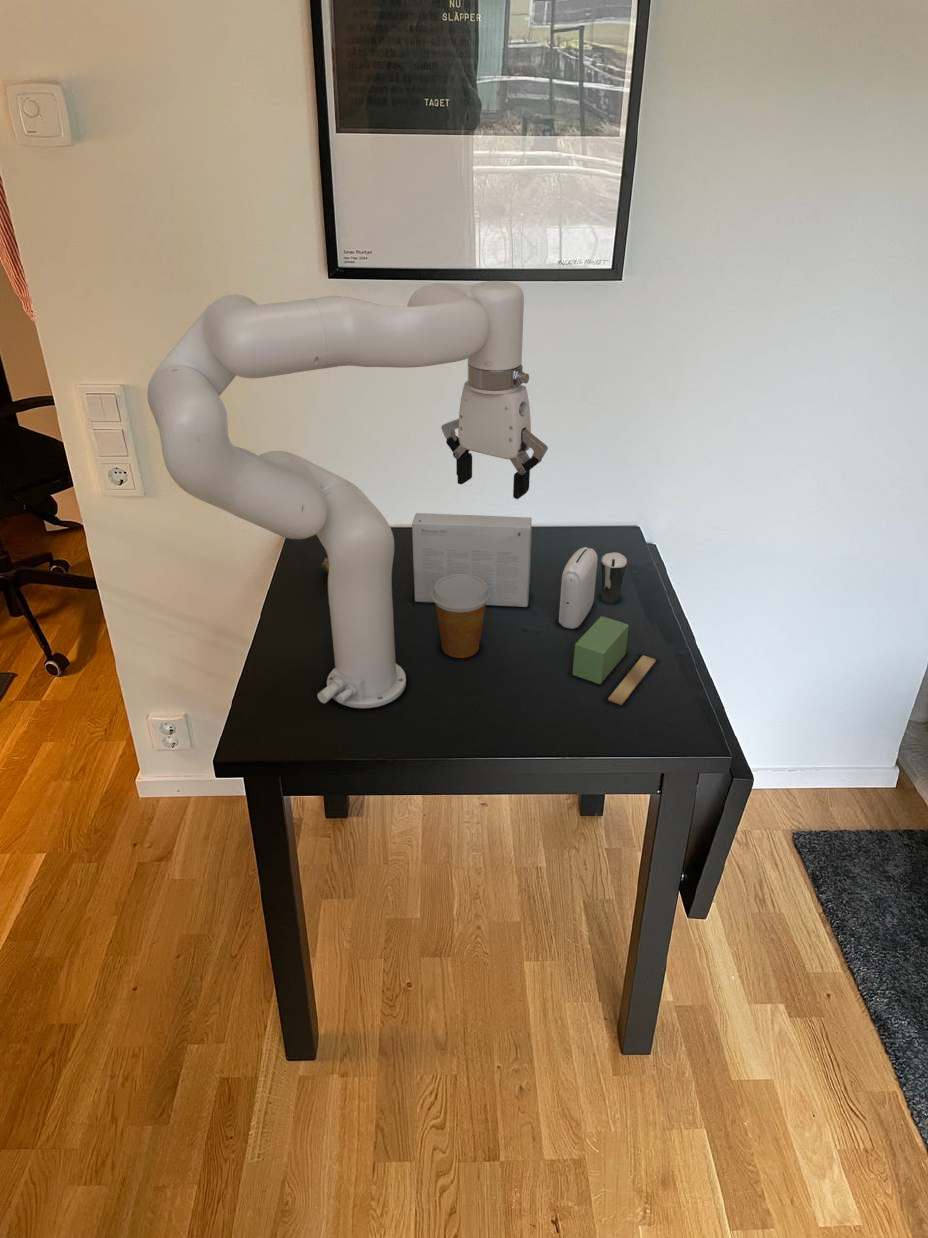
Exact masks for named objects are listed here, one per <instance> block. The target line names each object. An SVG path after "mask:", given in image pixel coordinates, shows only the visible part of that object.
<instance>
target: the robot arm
mask: <svg viewBox="0 0 928 1238" xmlns="http://www.w3.org/2000/svg"><path fill="white" fill-rule="evenodd" d="M524 295H525V294H524V291H523V290H522V288H521V287H520V286H519V285H518V284H516V283H513V282H510V281H504V280H491V281H490V280H488V281H481V282H478V283H476V284H456V283H444V282H443V283H442V282H436V283H435V282H434V283H429V284H426V285H422V286H421V287H419V288H418V289H416V290H415V291H414V292H413V293H412V295H411V296H410V297H409V300H407V301H408V302H407V305H406V306H397V305H395V306H394V305H384V304H378V303H373V302H370V301H367V300H362V299H360V298H359V299H358V298H355V297H350V296H349V297H348V296H344V295H343V296H341V295H329V296H322V297H314V298H307V299H298V300H290V301H282V302H280V301H279V302H272V303H271V302H270V303H263V304H258V303H256V301H255V300H253V299H251V298H250V297H248V296H245V295H242V294H237V293H236V294H234V293H233V294H226V295H223V296H220V297H219V298H217V299H215V301H213V302H212V303H211V304H209V305H207V307H206V308H205V309H204V311H202V313H200V315H199V316H198V317H197V319H196V320H195V321H193V323H192V325H191V326H190V327H189V328H188V330H187V331H186V332H185V333H184V334H183V336H182V337H181V338H180V340H178V342H177V343H176V344H175V346H174V347H173V348H172V349H171V350H170V351H169V353H168V354H167V355H166V356H165V358H164V359H163V360H162V361H161V362H160V363H159V365H158V366H157V368H156V369H155V370H154V371H153V373H152V375H151V377H150V380H149V382H148V386H147V403H148V405H149V409H150V412H151V414H152V416H153V419H154V421H155V424H156V426H157V428H158V433H159V437H160V444H161V445H160V446H161V451H162V457H163V461H164V465H165V468H166V470H167V472H168V474H169V476H170V477H171V479H172V480H173V482H175V484H176V485H177V486H178V487H179V488H180V489H181V490H183V491H184V492H185V493H186V494H188V495H190V496H192V497H194V498H196V499H198V500H199V501H202V502H204V503H207V504H208V505H210V506H214V507H216V508H218V509H220V510H223V511H225V512H227V513H229V514H231V515H233V516H235V517H237V518H240V519H241V520H244V521H246V522H249V523H251V524H253V525H256V526H257V527H260V528H262V529H264V530H267V531H269V532H271V533H273V534H275V535H278V536H280V537H282V538H285V539H290V540H305V539H308V538H311V537H314V536H317V538H318V540H319V542H320V544H321V545H322V546H323V548H324V551H325V552H326V555H327V558H328V560H329V573H327V596H328V606H329V616H330V617H329V618H330V626H331V637H332V648H333V659H334V668H333V669H332V670H331V671H330V672H329V674H328V676H327V678H326V687H324V688H323V689H321V690H320V691H319V692H318V693H317V695H316V696H317V699H318V700H319V702H320V703H322V704H326V703H328V702H329V701H331V699H333V700H334V701H335V702H337V703H339V704H340V705H343V706H347V707H349V708H353V709H371V708H372V709H373V708H378V707H381V706H385V705H387V704H389V703H392V702H394V701H395V700H396V699H398V698H399V697H400V696H401V695H403V692H404V691H405V689H406V687H407V675H406V672H405V670H404V669H403V668H402V666H400V665H398V663H396V643H395V623H394V622H395V621H394V603H393V602H394V601H393V583H392V582H393V581H392V578H393V563H394V557H395V556H394V555H395V538H394V534H393V531H392V528H391V526H390V524H389V522H388V521H387V519H386V517H385V516H384V515H383V513H382V512H381V511H380V510H379V509H378V508H377V506H376V505H375V504H374V503H373V502H372V501H371V500H370V498H369V497H368V496H367V495H366V494H365V493H364V492H363V491H362V490H361V489H360V488H359V487H358V486H357V485H356V484H354V483H353V482H351V481H350V480H348V479H345V478H343V477H342V476H340V475H337V474H336V473H334V472H332V471H329V470H327V469H326V468H323V467H321V466H320V465H318V464H316V463H314V462H311V461H310V460H308V459H305V458H304V457H301V456H299V455H297V454H295V453H292V452H288V451H285V450H284V451H283V450H270V451H266V452H263V453H260V454H259V455H258V454H257V453H254V452H252V451H250V450H247V449H245V448H242V447H239V446H236V445H234V444H233V443H232V441H231V439H230V436H229V421H228V412H227V408H226V406H225V403H224V401H223V400H222V398H221V395H222V394H223V393H224V391H226V389H227V388H228V387H229V385H230V384H231V383H232V382H233V380H234V379H235V378H236V377H240V378H244V379H263V378H271V377H277V376H285V375H291V374H295V373H302V372H309V371H310V372H311V371H316V370H325V369H330V368H337V367H347V366H348V367H349V366H350V367H361V368H401V369H402V368H404V369H405V368H406V369H407V368H408V369H409V368H424V367H432V366H437V365H445V364H450V363H457V362H460V361H464V360H467V380H466V381H465V382H464V384H463V387H462V392H461V397H460V403H459V412H458V418H455V419H453V420H450V421H448V422H446V423H444V424H442V425H441V428H440V429H441V431H442V433H443V436H444V439H446V445H447V446H448V447H449V449H450V450H451V452H452V457H453V458H454V459H456V462H455V463H456V465H455V466H456V469H455V470H456V472H455V473H456V476H457V484H458V485H464V484H465V483H467V482H468V481H470V480H471V479H472V478H473V454H472V453H471V452H475V453H478V454H483V455H487V456H491V457H494V458H499V459H504V460H509V461H510V462H511V465H512V466H513V467H514V469H515V470H516V472H515V473H514V474H513V487H512V488H513V489H512V494H513V495H512V497H513V499H516V500H519V499H521V497H523V496H525V495H526V494H527V493H528V492H529V490H530V477H531V470H532V469H533V468H534V467H536V466H537V465H538V464H539V463H541V462H542V461H543V458H544V457H545V455H546V453H547V452H548V448H549V447H548V445H547V444H546V443H545V442H543V441H542V440H541V439H539V438H538V437H537V436H536V435H534V434H533V433H532V426H531V425H532V424H531V407H530V401H529V395H528V389H527V386H526V385H527V384H528V383H529V380H530V374H529V373H525V372H524V371H523V370H524V369H523V368H524V367H523V364H522V363H523V335H524V311H525V309H524V308H525V296H524ZM523 384H526V385H523ZM456 430H457V431H458V432H457V435H456ZM529 450H532V451H533V452H532V456H531V457H530V456H529V454H528V453H527V451H529ZM470 451H471V452H470Z"/></svg>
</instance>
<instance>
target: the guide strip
mask: <svg viewBox="0 0 928 1238" xmlns="http://www.w3.org/2000/svg"><path fill="white" fill-rule="evenodd" d="M656 662H657V659H656V658H653V657H650V656H646V655H642V656H641V657H640V658H639V659H638V660H637V662H636V663H635V664H634V665H633V667H632V668H631V670H629V672H628V673H627V674H626V676H625V677H624V678H623V679H622V681H620V682H619V684H618V685H617V686H616V688H615V689H614V690H613V691H612V693H611V694H610V695H609V696H608V698H607V701H609V702H611V703H615V704H617V705H620V706H623V704H624V703H625V702H626V701H627V699H628V698H629V697H630V695H632V693H633V691H634V690H635V689H636V688H637V687H638V685H639V684H640V683H641V681H642V680H643V678H645V676H646V674H648V672H649V671H650V670H651V668H653V666H654V665H655V663H656Z"/></svg>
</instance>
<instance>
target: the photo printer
mask: <svg viewBox="0 0 928 1238" xmlns="http://www.w3.org/2000/svg"><path fill="white" fill-rule="evenodd" d="M597 568H598V554H597V552H596V551H595V549H594V548H591V547H587V546H584V547H580V548H578V549H577V550H576V551H575V552H574V553H573V554H572V555H571V557H570V558H569V559H568V561H567V563H566V564H565V566H564V568H563V571H562V574H561V582H560V583H561V584H560V595H559V596H560V597H559V611H558V623H559V624H560V625H561V627H563V628H566V629H572V630H573V629H576V628H579V627H580V626H581V625H582V623H583V622H584V621H585V619H586V617H587V616H588V615H589V612H590V611H591V609H592V607H593V604H594V600H595V591H596V582H597V581H596V580H597V571H598V570H597Z"/></svg>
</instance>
